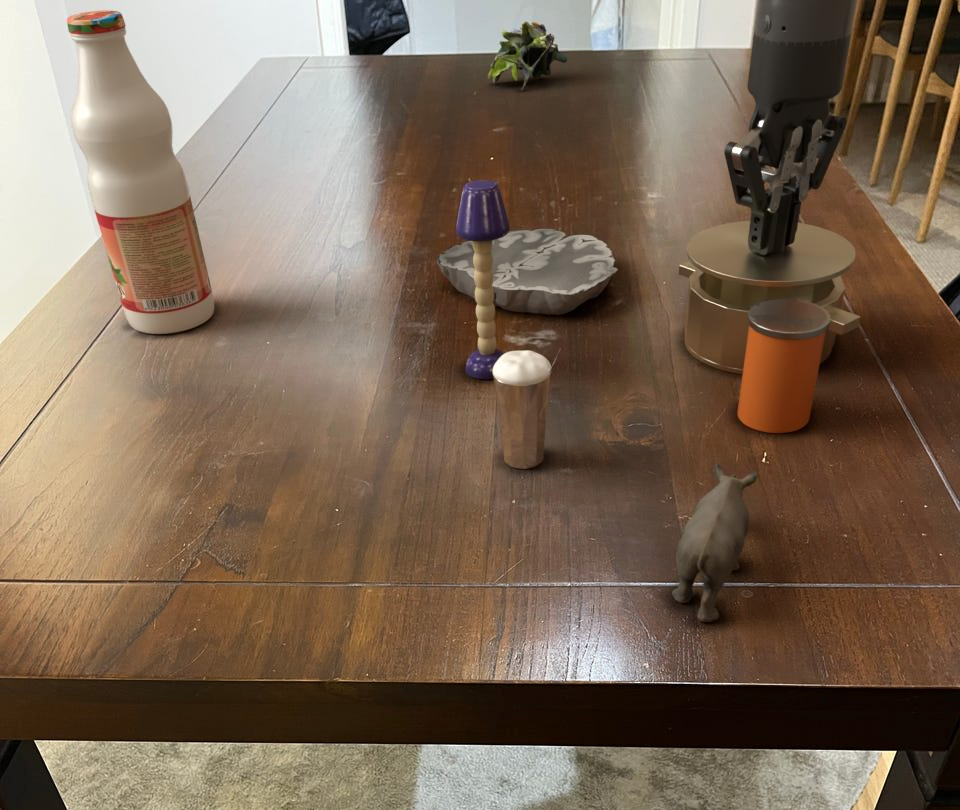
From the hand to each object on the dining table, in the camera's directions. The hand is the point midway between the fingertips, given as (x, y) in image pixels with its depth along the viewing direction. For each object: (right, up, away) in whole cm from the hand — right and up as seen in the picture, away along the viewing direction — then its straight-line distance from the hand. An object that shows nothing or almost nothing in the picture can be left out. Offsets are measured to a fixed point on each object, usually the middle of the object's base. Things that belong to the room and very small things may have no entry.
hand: (771, 246), depth 91 cm
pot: (0, -7, +6) cm, 9 cm away
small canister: (-1, -16, -4) cm, 17 cm away
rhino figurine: (-10, -30, -19) cm, 37 cm away
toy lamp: (-25, -10, +5) cm, 28 cm away
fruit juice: (-59, -1, +17) cm, 62 cm away
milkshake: (-22, -21, -8) cm, 31 cm away
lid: (0, -1, 0) cm, 1 cm away
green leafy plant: (-18, +61, +84) cm, 105 cm away
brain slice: (-21, +3, +19) cm, 28 cm away
